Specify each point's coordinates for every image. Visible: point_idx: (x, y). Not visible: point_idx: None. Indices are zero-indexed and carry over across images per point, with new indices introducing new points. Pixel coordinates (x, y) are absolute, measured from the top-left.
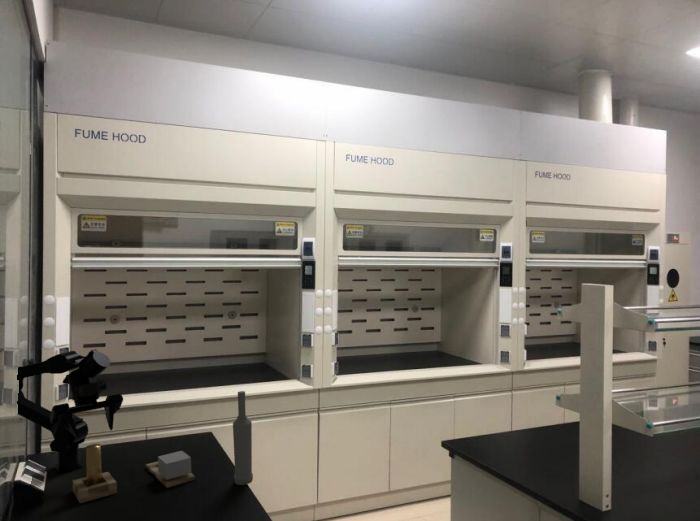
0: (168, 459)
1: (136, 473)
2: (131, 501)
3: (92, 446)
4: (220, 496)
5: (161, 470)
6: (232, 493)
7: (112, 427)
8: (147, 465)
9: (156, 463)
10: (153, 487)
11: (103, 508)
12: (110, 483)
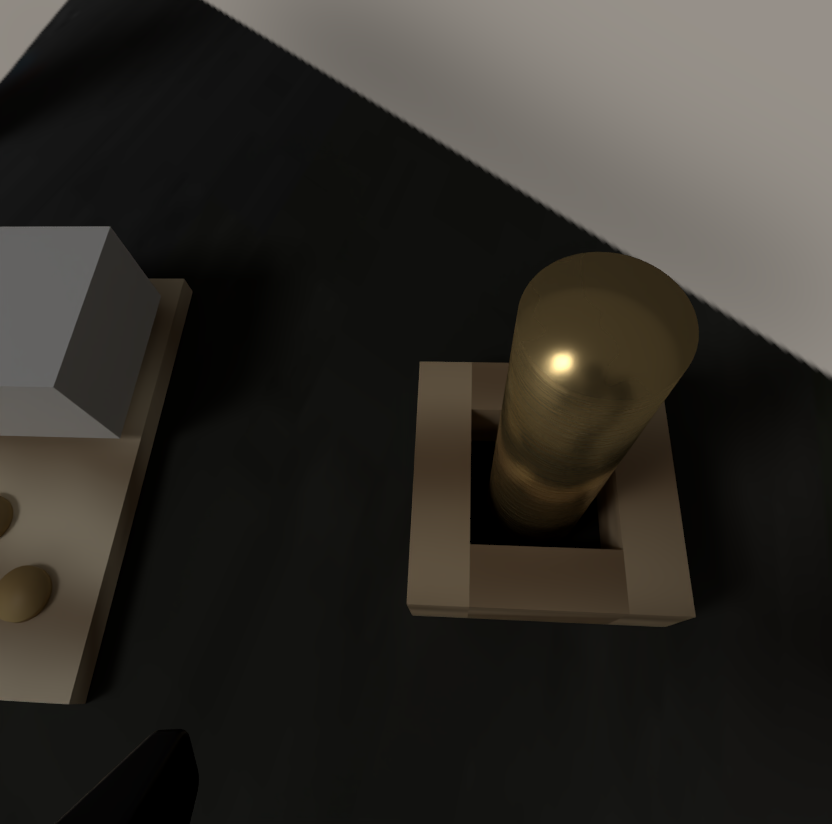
0: (48, 283)
1: (194, 638)
2: (397, 259)
3: (617, 320)
4: (97, 96)
5: (122, 361)
6: (49, 92)
7: (154, 737)
8: (76, 668)
9: (8, 657)
10: (237, 340)
11: (534, 269)
12: (459, 363)
